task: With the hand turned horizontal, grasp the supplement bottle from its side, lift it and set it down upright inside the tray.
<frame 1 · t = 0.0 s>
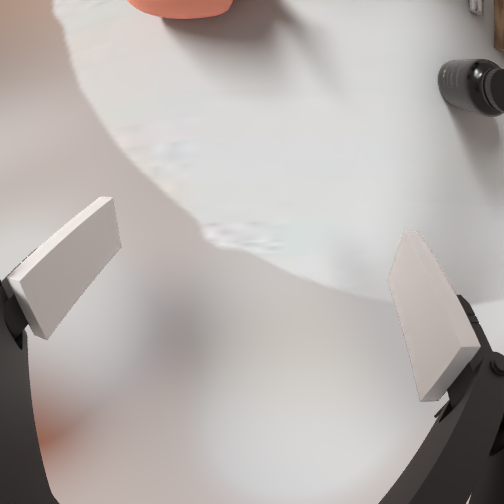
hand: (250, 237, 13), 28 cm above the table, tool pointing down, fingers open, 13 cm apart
supplement bottle: (456, 83, 29), on the table
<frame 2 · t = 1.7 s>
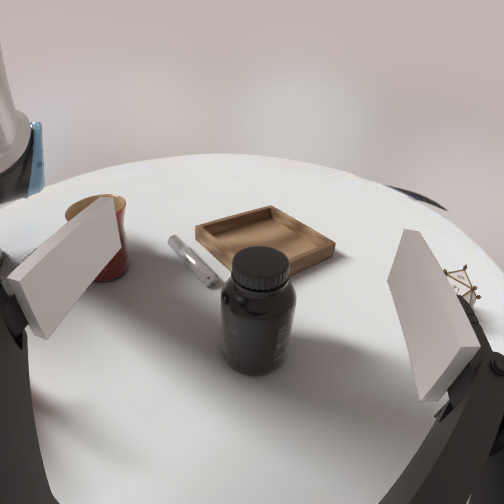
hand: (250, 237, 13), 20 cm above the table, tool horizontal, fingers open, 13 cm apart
supplement bottle: (253, 353, 32), on the table
game die: (439, 319, 37), on the table
tray: (263, 247, 50), on the table
mug: (108, 264, 44), on the table
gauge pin: (190, 264, 45), on the table
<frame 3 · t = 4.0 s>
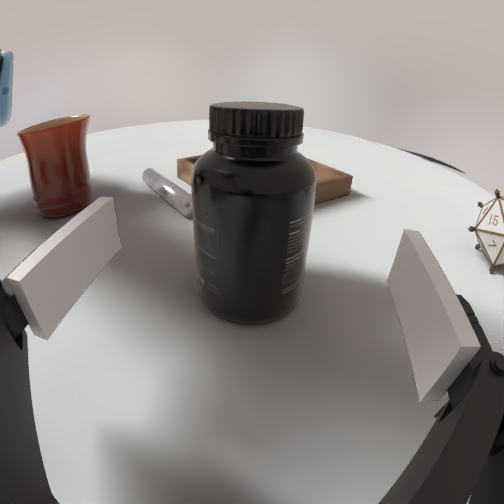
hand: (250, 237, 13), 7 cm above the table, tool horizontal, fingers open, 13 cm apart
supplement bottle: (248, 294, 21), on the table
game die: (491, 264, 26), on the table
tray: (261, 183, 39), on the table
mug: (68, 203, 32), on the table
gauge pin: (167, 197, 34), on the table
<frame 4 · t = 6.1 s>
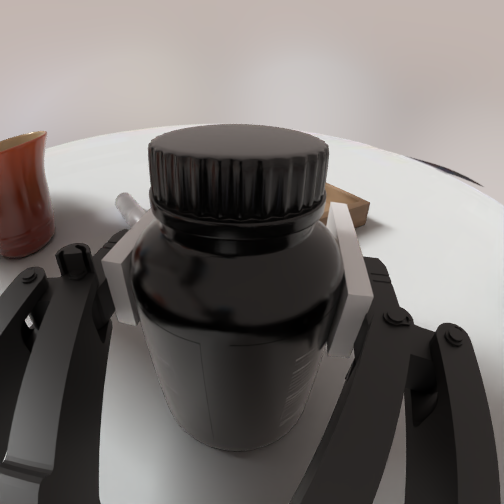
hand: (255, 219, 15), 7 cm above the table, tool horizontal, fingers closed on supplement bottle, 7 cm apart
supplement bottle: (234, 396, 14), on the table, touching gripper
tray: (259, 210, 32), on the table
mug: (31, 236, 26), on the table
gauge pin: (142, 232, 27), on the table
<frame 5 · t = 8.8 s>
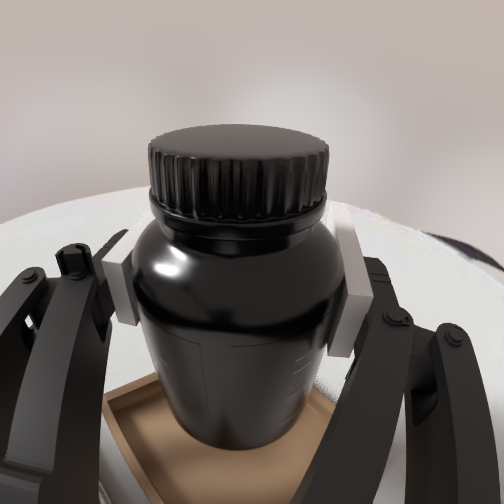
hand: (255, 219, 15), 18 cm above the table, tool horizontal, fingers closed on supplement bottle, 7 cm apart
supplement bottle: (234, 396, 14), point 11 cm above the table, touching gripper
tray: (229, 442, 21), on the table
when the fingers open (9 cm above the table, at t = 11.4 s): supplement bottle drops 2 cm, resting on tray.
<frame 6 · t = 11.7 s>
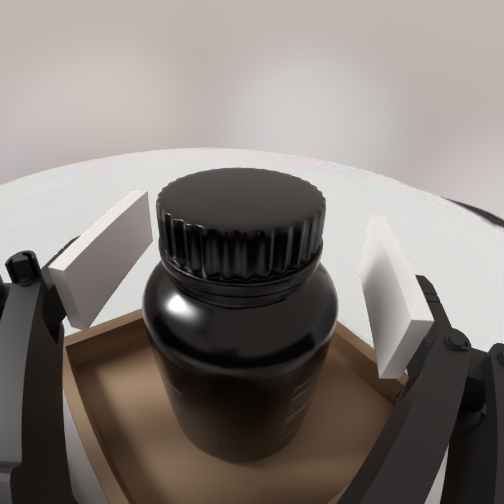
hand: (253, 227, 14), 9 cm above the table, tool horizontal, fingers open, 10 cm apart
supplement bottle: (238, 410, 15), resting on tray
tray: (233, 412, 15), on the table
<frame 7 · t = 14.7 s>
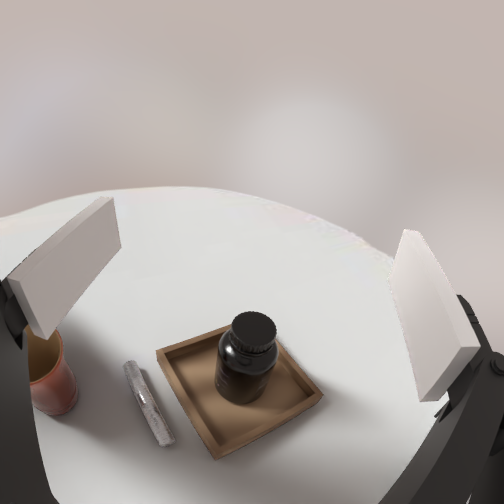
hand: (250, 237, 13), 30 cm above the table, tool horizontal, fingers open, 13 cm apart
supplement bottle: (238, 384, 38), resting on tray
tray: (236, 385, 38), on the table
mug: (57, 384, 32), on the table
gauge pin: (147, 405, 33), on the table
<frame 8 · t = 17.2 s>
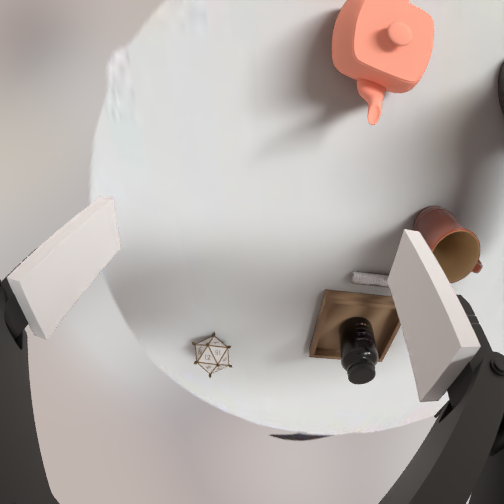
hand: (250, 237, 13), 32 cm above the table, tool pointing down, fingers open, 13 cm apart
supplement bottle: (355, 327, 57), resting on tray
game die: (216, 340, 65), on the table
tray: (356, 325, 57), on the table
mug: (437, 227, 44), on the table
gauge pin: (384, 277, 50), on the table
teapot: (371, 49, 32), on the table
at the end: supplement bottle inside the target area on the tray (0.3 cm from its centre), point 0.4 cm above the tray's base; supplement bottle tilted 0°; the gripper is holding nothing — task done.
